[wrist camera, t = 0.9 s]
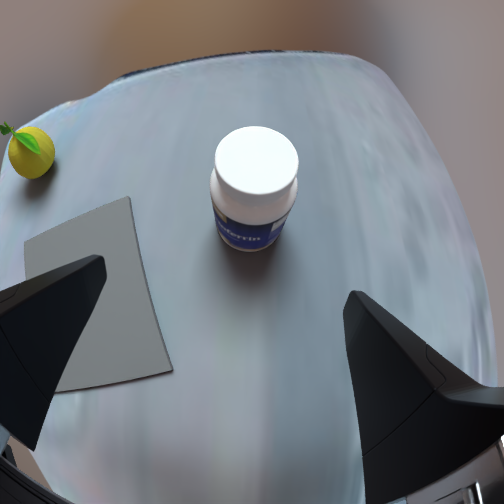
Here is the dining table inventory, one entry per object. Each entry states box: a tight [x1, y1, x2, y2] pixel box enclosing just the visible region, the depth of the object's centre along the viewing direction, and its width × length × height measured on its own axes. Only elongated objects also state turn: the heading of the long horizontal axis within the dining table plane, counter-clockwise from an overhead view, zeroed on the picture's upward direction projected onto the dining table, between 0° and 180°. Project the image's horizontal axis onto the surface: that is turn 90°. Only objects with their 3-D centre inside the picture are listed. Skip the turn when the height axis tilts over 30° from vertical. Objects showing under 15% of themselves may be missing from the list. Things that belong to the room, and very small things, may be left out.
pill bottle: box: [210, 126, 298, 252], centre depth 19 cm, size 6×6×10 cm
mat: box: [24, 196, 173, 392], centre depth 21 cm, size 16×14×1 cm
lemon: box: [0, 122, 55, 179], centre depth 20 cm, size 7×6×10 cm
